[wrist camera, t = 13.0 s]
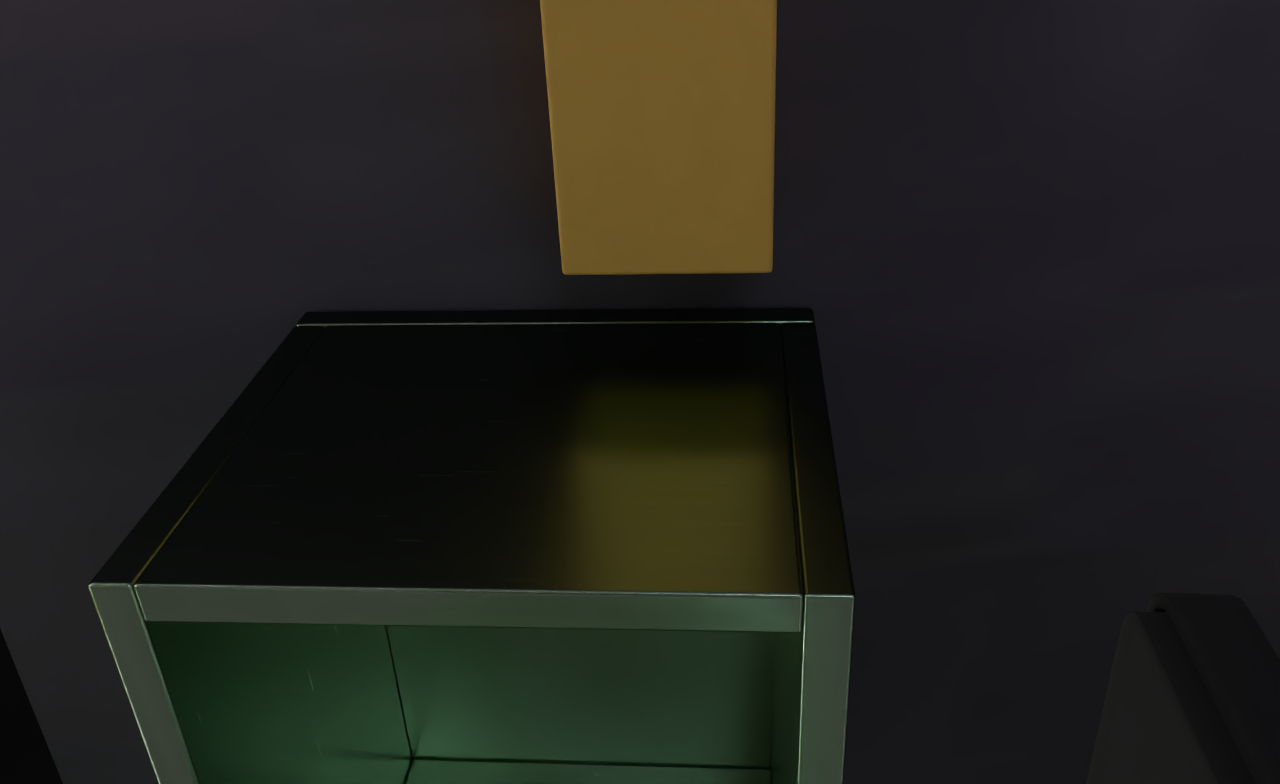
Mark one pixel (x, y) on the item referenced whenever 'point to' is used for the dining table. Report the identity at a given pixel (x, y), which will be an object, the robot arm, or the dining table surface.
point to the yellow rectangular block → (662, 134)
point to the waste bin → (500, 559)
